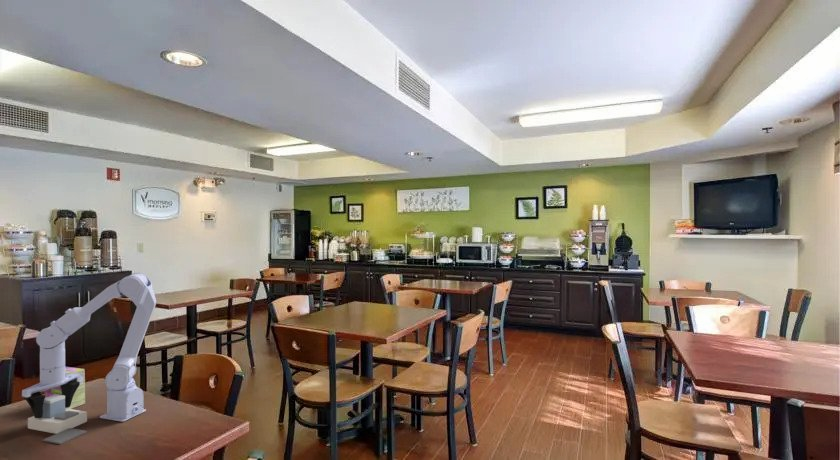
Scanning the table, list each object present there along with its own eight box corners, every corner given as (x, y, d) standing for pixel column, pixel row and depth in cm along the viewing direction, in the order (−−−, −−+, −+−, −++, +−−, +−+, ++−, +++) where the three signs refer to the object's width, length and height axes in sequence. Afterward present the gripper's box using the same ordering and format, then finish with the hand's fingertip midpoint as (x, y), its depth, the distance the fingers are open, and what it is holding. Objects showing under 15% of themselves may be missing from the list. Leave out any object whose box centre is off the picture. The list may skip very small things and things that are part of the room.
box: (43, 407, 138) (43, 370, 138) (63, 400, 143) (63, 365, 143) (66, 411, 135) (66, 374, 135) (85, 404, 140) (85, 368, 140)
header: (87, 421, 128) (86, 409, 128) (58, 434, 120) (58, 421, 120) (57, 416, 131) (57, 404, 131) (27, 428, 123) (27, 416, 123)
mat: (86, 432, 121) (86, 430, 121) (60, 444, 114) (60, 443, 114) (70, 429, 123) (70, 427, 123) (43, 441, 116) (43, 439, 116)
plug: (65, 422, 127) (65, 395, 127) (50, 428, 124) (50, 400, 123) (55, 420, 128) (55, 394, 128) (40, 426, 125) (40, 399, 125)
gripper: (68, 358, 134) (68, 400, 134) (14, 373, 120) (14, 421, 120) (85, 360, 132) (85, 403, 132) (32, 375, 118) (32, 424, 118)
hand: (52, 412), depth 126 cm, fingers open, 7 cm apart
